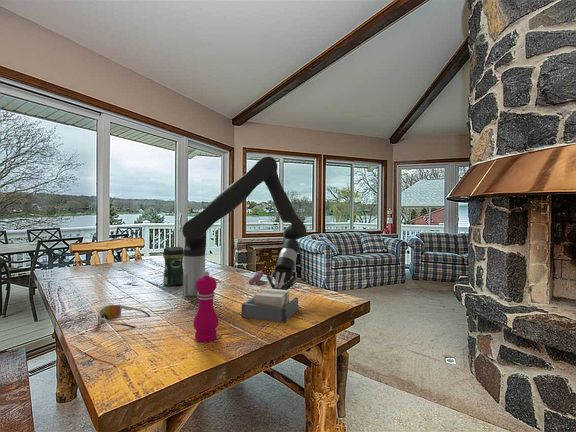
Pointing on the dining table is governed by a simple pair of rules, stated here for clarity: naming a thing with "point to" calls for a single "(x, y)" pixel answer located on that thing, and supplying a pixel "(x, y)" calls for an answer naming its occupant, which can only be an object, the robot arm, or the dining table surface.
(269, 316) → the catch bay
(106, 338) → the dining table surface
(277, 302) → the cream block
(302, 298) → the dining table surface
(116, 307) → the sunglasses
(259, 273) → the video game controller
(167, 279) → the coffee jar
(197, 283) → the pepper mill
